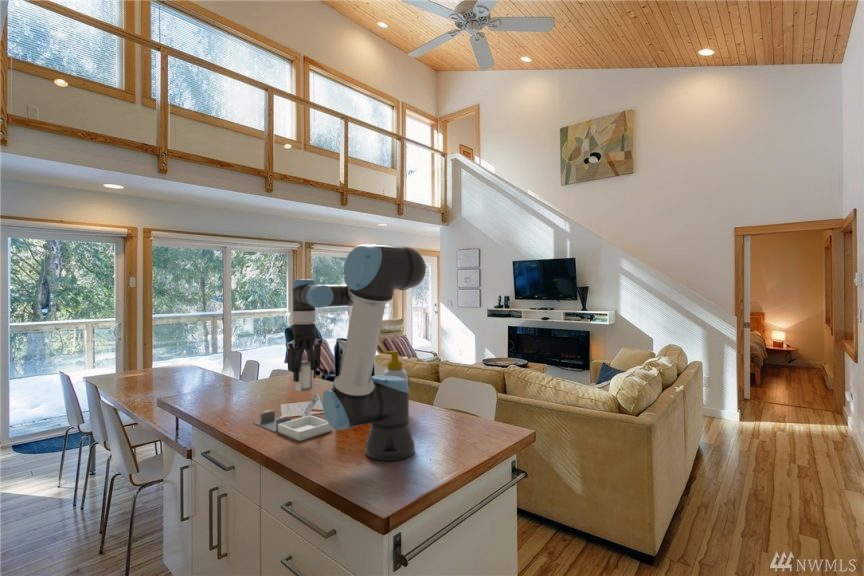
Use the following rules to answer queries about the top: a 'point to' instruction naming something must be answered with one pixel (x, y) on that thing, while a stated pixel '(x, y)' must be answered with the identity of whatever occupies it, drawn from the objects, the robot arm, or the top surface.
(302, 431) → the parts tray
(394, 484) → the top surface
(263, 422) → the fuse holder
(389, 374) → the soap bottle
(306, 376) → the cylinder
